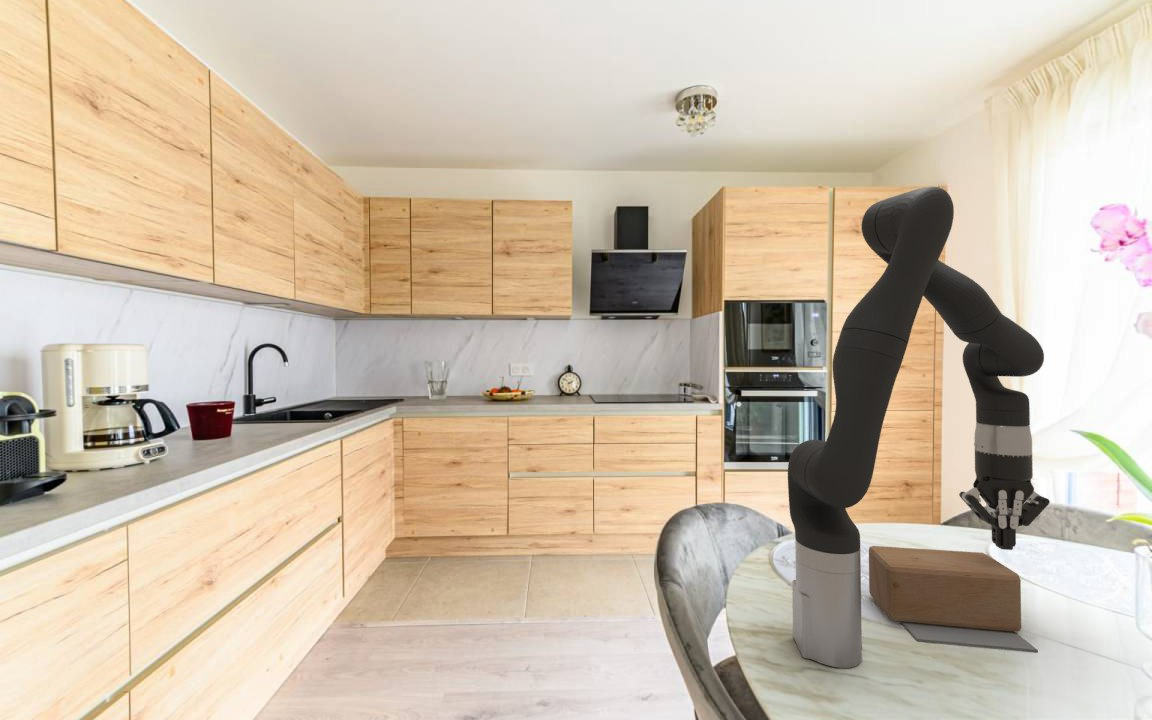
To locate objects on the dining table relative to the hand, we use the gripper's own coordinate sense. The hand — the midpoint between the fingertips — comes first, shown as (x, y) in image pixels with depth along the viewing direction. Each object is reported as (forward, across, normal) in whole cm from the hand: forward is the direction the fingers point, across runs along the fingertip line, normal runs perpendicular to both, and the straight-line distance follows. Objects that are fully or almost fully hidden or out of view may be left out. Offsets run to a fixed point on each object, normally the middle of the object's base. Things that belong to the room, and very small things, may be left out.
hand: (1003, 547), depth 82 cm
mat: (+13, -10, 0) cm, 16 cm away
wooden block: (+8, 0, 0) cm, 8 cm away
